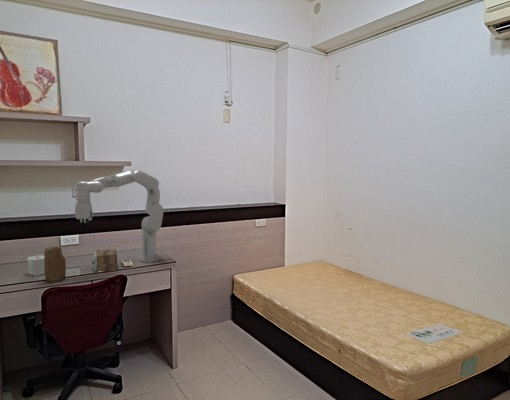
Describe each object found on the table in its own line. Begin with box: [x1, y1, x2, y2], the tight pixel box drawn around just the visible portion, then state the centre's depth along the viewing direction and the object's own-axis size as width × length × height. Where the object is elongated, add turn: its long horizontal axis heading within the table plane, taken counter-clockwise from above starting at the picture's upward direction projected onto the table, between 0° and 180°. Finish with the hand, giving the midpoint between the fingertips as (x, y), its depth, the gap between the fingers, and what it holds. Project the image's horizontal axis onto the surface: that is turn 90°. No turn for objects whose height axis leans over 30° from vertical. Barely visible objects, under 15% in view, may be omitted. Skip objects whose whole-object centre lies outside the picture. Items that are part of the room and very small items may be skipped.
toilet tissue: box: [26, 254, 45, 277], centre depth 234 cm, size 11×12×10 cm
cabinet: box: [96, 248, 118, 272], centre depth 248 cm, size 12×14×11 cm
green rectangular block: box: [91, 250, 97, 272], centre depth 245 cm, size 3×14×10 cm, turn 24°
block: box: [43, 245, 67, 283], centre depth 223 cm, size 11×8×20 cm
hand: (84, 228), depth 242 cm, fingers closed
